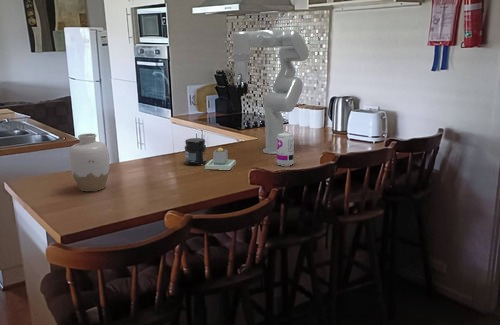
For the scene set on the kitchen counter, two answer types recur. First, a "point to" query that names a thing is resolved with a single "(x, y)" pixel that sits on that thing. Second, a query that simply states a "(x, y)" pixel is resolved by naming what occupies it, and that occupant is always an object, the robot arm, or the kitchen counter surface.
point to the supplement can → (285, 149)
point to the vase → (89, 163)
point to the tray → (220, 167)
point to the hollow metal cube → (220, 158)
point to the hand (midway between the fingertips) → (242, 94)
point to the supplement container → (195, 151)
